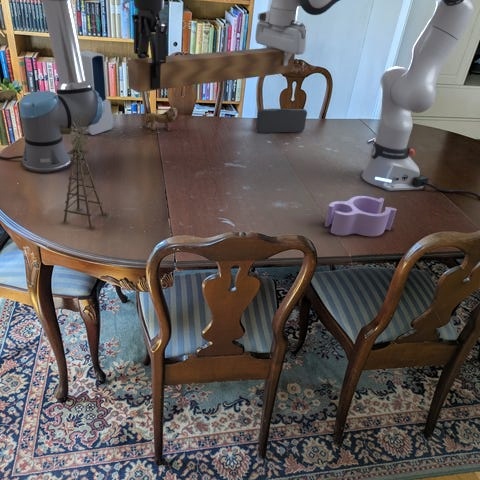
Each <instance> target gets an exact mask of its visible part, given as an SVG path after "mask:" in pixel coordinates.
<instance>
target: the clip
mask: <svg viewBox="0 0 480 480" xmlns="http://www.w3.org/2000/svg"><path fill="white" fill-rule="evenodd" d="M384 201H385V198H383V197H379V198H376V197H373V196H368V195H357V196H352V197H350V198H349V200H347V201H339V200H338V201H337V200H335V201H332V202H330V203H329V205H328V208H327V214H326V218H325V222H324V227H326V228H329V227H330V226H331V227H330V233H331V234H333V235H336V236H348V235H353V234H356V235H360V236H364V237H365V236H366V237H378V236H381V235H382V234H384V232H385V230H387V231H391V229H392V226H393V222H394V219H395V216H396V213H397V210H398V209H397V208H395V207H391V206H385V207H384V211H383V212H382V209H383V206H384Z"/></svg>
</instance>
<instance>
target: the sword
mask: <svg viewBox="0 0 480 480" xmlns="http://www.w3.org/2000/svg"><path fill="white" fill-rule="evenodd" d="M375 139H376V137H374V138H370V139H368V140H367V144H369V143H372V142H374V140H375Z"/></svg>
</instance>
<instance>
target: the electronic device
mask: <svg viewBox="0 0 480 480" xmlns="http://www.w3.org/2000/svg"><path fill="white" fill-rule="evenodd" d="M81 55H82V61H83V66H84V71H85V76H86V80H87V81H88V82H89V83H90V84H91V85H92V89H93V90H95V91H97V92H98V93H99V97H101V99H102V103H103V114H102V117H101V118H100V121H99V122H98V123H96V124H93V125H90V126H88V129H86V130H85V131H83V132H88V131H89V132H88V134H87V135H91V136H94V135H98V134H101V133H104V132H106V131H110V130H112V129H113V126H114V121H113V120H114V119H113V113H112V112H113V111H112V106H111V100H109V99H108V96H107V95H108V94H107V80H106V64H105V55H104V54H102V53H100V52H99V53H98V52H95V51H91V50H88V49H87V50H85V49H84V50H81ZM81 128H83V127H81ZM85 128H86V127H85ZM85 128H84V129H85ZM84 129H83V130H84ZM80 131H81V129H80Z"/></svg>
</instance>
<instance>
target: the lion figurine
mask: <svg viewBox="0 0 480 480" xmlns="http://www.w3.org/2000/svg"><path fill="white" fill-rule="evenodd" d="M177 117H178V109H177V108H176V107H170V108H168V110H166V111H165V112H163V113H155V112H150V113H149V114H147V116H146V118H145V123H144V125H143V126H142V129H145V128H148V129H150V128H151V130H152V131H156V128H155V127H154V125H155V122H156V123H159V124H164V128H165V129H166V130H167V131H168V132H169V131H171V129H170V124H172V123H173V122H175V120H176V119H177ZM149 124H150V125H149Z"/></svg>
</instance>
